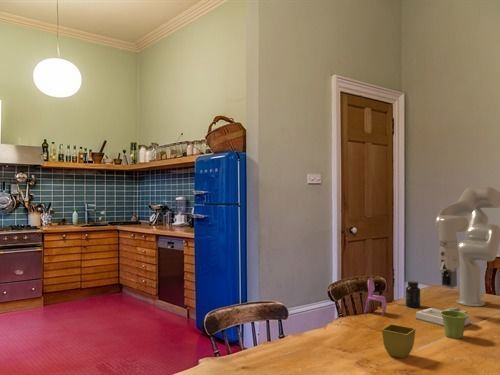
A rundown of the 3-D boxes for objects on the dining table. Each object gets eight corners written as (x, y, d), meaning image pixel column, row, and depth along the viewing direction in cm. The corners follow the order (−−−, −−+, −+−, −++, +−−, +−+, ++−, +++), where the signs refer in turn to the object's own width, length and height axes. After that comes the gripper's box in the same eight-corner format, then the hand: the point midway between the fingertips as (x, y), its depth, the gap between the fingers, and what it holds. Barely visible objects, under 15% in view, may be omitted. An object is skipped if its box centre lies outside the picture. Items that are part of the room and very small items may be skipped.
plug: (446, 284, 201) (446, 267, 201) (456, 286, 197) (456, 268, 197) (441, 285, 199) (441, 268, 199) (452, 287, 195) (451, 269, 195)
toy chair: (382, 316, 193) (382, 282, 193) (363, 313, 198) (362, 280, 198) (387, 312, 200) (386, 279, 200) (368, 309, 205) (368, 277, 205)
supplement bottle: (422, 308, 206) (422, 283, 207) (408, 308, 207) (408, 283, 207) (417, 304, 213) (417, 280, 213) (403, 304, 213) (403, 280, 214)
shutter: (451, 313, 186) (450, 305, 186) (467, 317, 180) (467, 308, 180) (442, 316, 182) (442, 308, 182) (458, 320, 176) (458, 311, 176)
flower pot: (391, 348, 153) (391, 323, 153) (416, 354, 147) (416, 328, 147) (381, 356, 146) (381, 329, 146) (407, 362, 140) (407, 334, 140)
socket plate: (431, 314, 196) (430, 306, 196) (470, 324, 181) (470, 315, 181) (415, 318, 189) (415, 310, 189) (455, 329, 174) (455, 320, 174)
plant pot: (470, 341, 160) (470, 318, 160) (443, 339, 162) (443, 316, 162) (463, 333, 169) (463, 311, 169) (438, 331, 171) (438, 309, 171)
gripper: (446, 247, 190) (447, 288, 190) (465, 242, 200) (466, 282, 200) (430, 245, 196) (431, 285, 196) (450, 241, 206) (450, 279, 206)
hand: (449, 283), depth 198 cm, fingers closed on plug, 4 cm apart
